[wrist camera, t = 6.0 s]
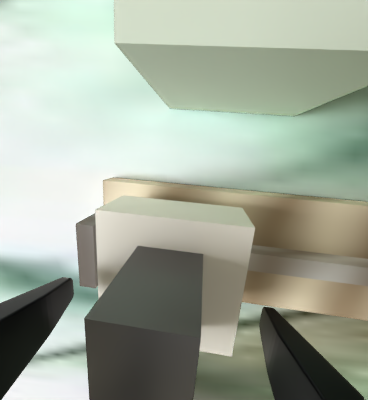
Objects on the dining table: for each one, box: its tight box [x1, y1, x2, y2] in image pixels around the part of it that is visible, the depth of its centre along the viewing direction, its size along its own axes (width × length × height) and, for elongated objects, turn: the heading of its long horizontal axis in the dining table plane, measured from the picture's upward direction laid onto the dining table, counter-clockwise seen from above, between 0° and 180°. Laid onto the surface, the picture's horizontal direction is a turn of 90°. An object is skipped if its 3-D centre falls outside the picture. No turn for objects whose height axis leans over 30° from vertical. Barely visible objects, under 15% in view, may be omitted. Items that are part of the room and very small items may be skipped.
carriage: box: [84, 195, 255, 400], centre depth 9 cm, size 7×7×8 cm
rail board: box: [76, 178, 368, 320], centre depth 12 cm, size 24×8×4 cm, turn 86°
